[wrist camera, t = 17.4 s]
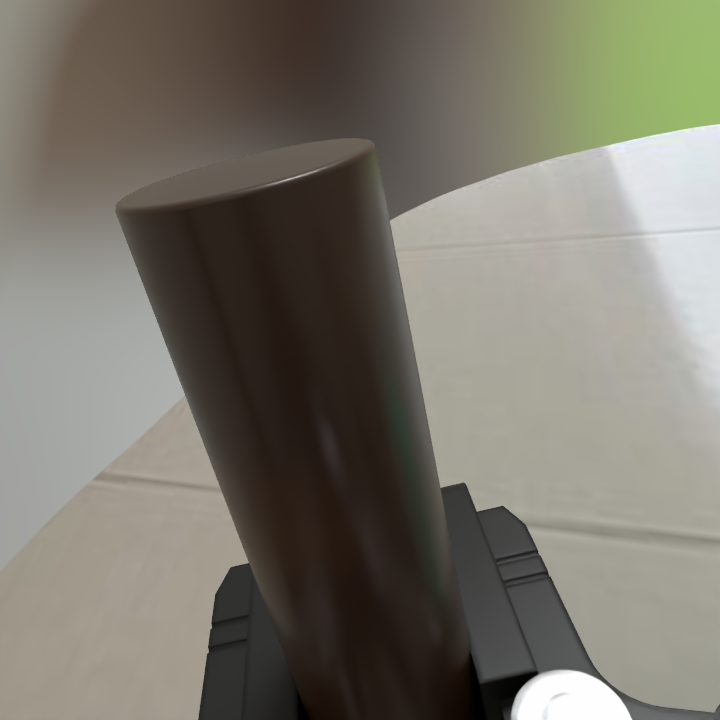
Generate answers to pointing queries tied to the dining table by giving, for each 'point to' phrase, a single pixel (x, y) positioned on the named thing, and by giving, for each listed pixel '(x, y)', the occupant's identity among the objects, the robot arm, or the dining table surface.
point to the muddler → (314, 418)
